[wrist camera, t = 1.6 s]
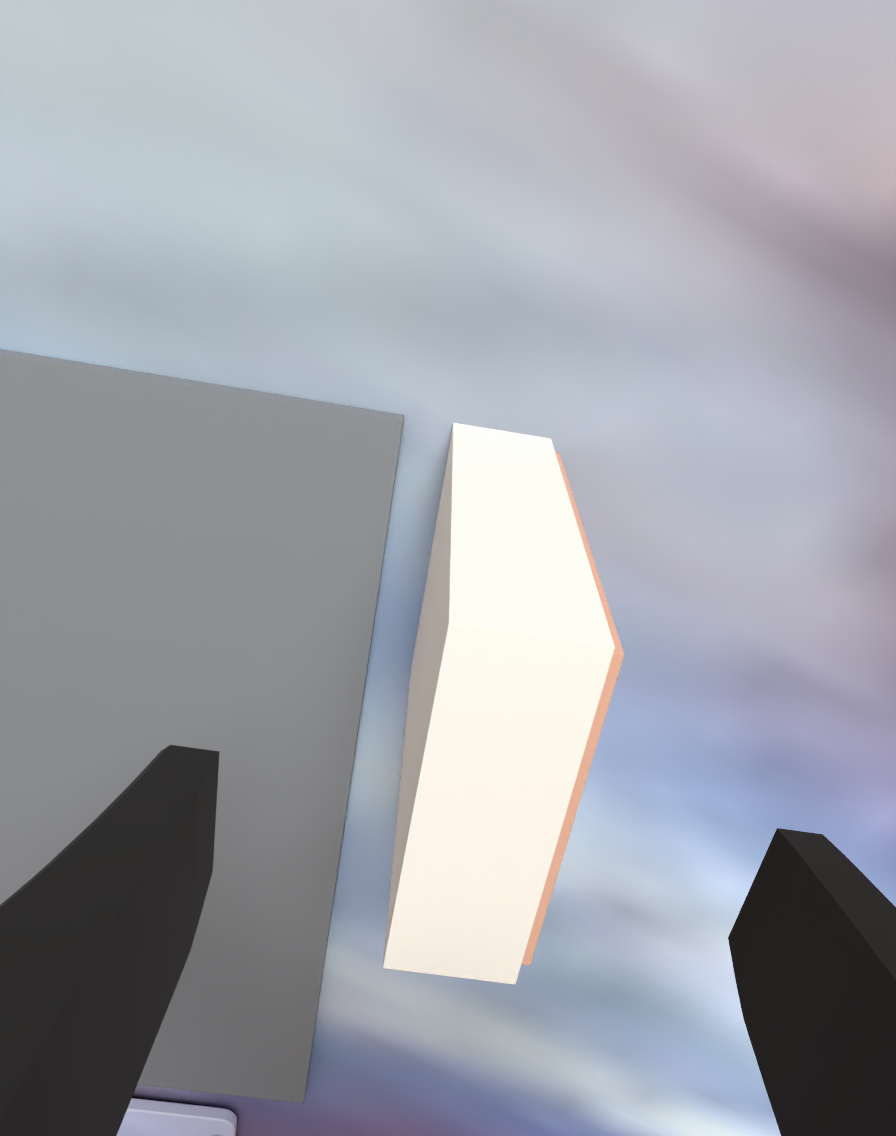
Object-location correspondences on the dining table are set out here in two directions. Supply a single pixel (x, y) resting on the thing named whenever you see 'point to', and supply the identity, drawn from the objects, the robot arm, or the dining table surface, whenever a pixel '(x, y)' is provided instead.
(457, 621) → the tile
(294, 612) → the mat
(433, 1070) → the dining table surface
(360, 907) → the dining table surface
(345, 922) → the dining table surface
